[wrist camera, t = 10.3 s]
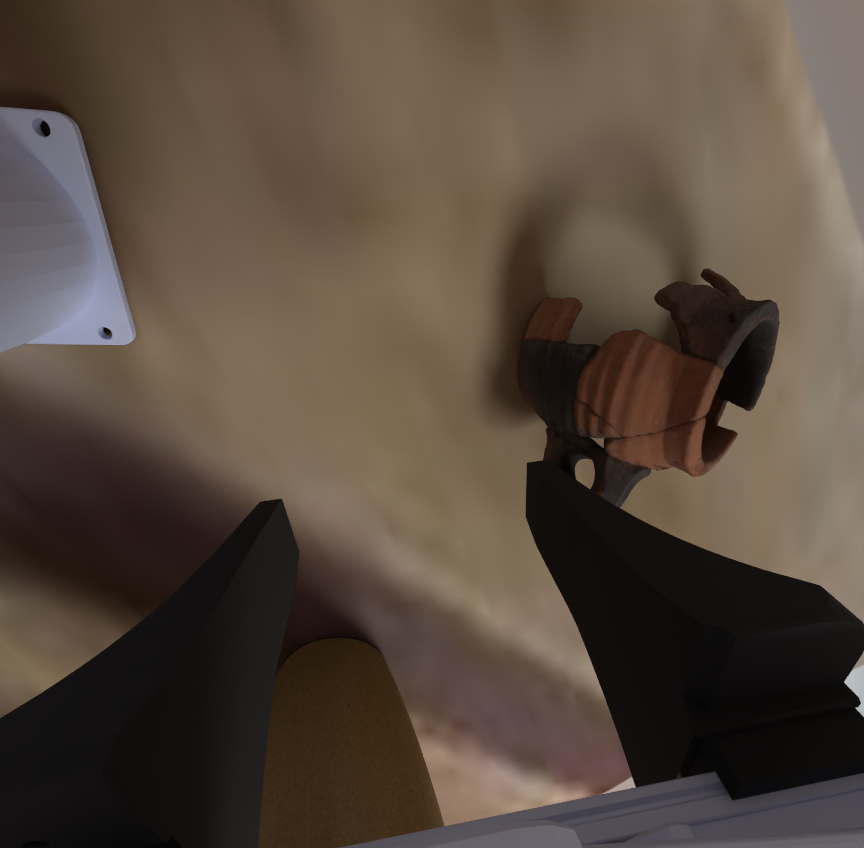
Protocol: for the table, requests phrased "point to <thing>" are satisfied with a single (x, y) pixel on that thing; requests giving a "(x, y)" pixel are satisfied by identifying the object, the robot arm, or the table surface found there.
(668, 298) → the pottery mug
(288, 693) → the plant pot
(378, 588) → the table surface
